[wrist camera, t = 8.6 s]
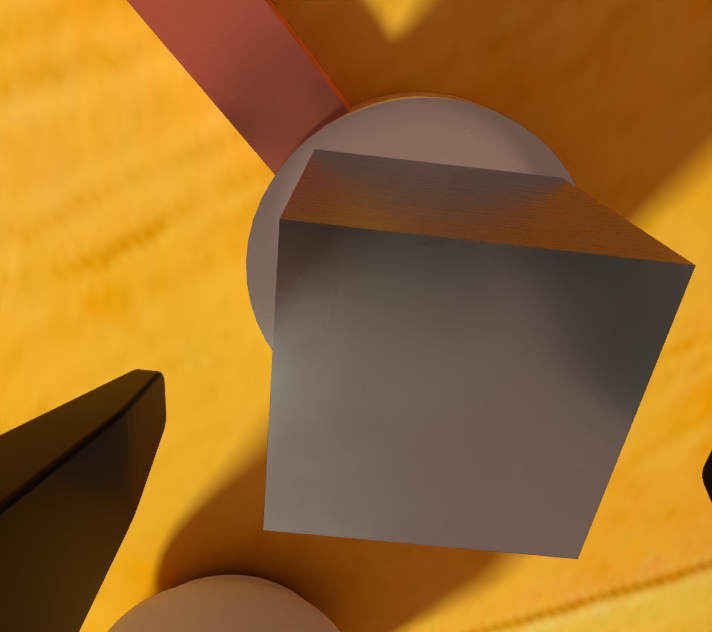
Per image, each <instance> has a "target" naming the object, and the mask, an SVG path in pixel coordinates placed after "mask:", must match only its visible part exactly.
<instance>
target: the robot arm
mask: <svg viewBox="0 0 712 632" xmlns="http://www.w3.org/2000/svg"><path fill="white" fill-rule="evenodd" d="M165 423H166V401H165V381H164V377H163V374H162V373H161V372H159V371H150V370H141V369H136V370H133V371H131V372H129V373H127V374H125V375H123V376H120V377H118V378H116V379H114V380H112V381H110V382H108V383H106V384H104V385H102V386H100V387H98V388H96V389H94V390H92V391H90V392H88V393H86V394H84V395H82V396H80V397H77V398H75V399H73V400H71V401H69V402H67V403H65V404H63V405H61V406H59V407H57V408H55V409H53V410H51V411H49V412H47V413H45V414H43V415H41V416H39V417H36V418H34V419H32V420H30V421H28V422H26V423H24V424H22V425H20V426H18V427H16V428H14V429H12V430H10V431H8V432H6V433H4V434H2V435H0V632H79V631H80V628H81V626H82V624H83V622H84V620H85V618H86V616H87V614H88V612H89V610H90V608H91V606H92V604H93V601H94V599H95V597H96V595H97V593H98V591H99V589H100V587H101V585H102V583H103V581H104V579H105V576H106V574H107V572H108V570H109V568H110V566H111V564H112V562H113V560H114V558H115V556H116V554H117V552H118V549H119V547H120V545H121V543H122V541H123V539H124V537H125V535H126V533H127V531H128V529H129V526H130V524H131V522H132V520H133V517H134V515H135V513H136V510H137V507H138V504H139V502H140V499H141V496H142V493H143V490H144V487H145V484H146V481H147V478H148V475H149V473H150V470H151V467H152V464H153V461H154V458H155V455H156V452H157V449H158V446H159V443H160V440H161V437H162V435H163V432H164V428H165ZM702 478H703V483H704V485H705V488H706V490H707V493H708V495H709V497H710V500H711V502H712V451H711V453H710V455H709V457H708V459H707V461H706V463H705V465H704V467H703V472H702Z"/></svg>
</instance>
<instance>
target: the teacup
mask: <svg viewBox="0 0 712 632" xmlns="http://www.w3.org/2000/svg"><path fill="white" fill-rule="evenodd" d="M108 632H340V631H339V630H338V628H337V627H336V626H335V625H334V623H333V622H332V621H331V620H330V619H329V618H328V617H327V616H326V615H325V614H324V613H322V612H321V611H320V610H318V609H317V608H316V607H314V606H313V605H312V604H310V603H308V602H307V601H305V600H304V599H303V598H302V597H300V596H299V595H298V594H296V593H295V592H293V591H291V590H289V589H288V588H286V587H284V586H282V585H279V584H277V583H275V582H272V581H269V580H266V579H262V578H258V577H253V576H246V575H217V576H208V577H203V578H199V579H195V580H192V581H189V582H186V583H184V584H182V585H180V586H177V587H175V588H172V589H168V590H165V591H162V592H160V593H158V594H156V595H154V596H152V597H150V598H148V599H146V600H144V601H142V602H141V603H139V604H138V605H136V606H135V607H133V608H132V609H130V610H129V611H128V612H127V613H125V614H124V615H123V616H122V617H121V618H120V619H119V620H118V621H117V622H116V623H115V624H114V625H113V626H112V627H111V628H110V629H109V631H108Z"/></svg>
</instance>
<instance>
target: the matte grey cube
mask: <svg viewBox="0 0 712 632" xmlns="http://www.w3.org/2000/svg"><path fill="white" fill-rule="evenodd" d="M694 268H695V265H694V264H693V263H691V262H690V261H688V260H687V259H685V258H684V257H682V256H681V255H679V254H678V253H676V252H674V251H673V250H671V249H670V248H668V247H667V246H665V245H664V244H662V243H661V242H659V241H658V240H656V239H655V238H653V237H652V236H650V235H649V234H647V233H646V232H644V231H643V230H641V229H639V228H638V227H636V226H635V225H633V224H632V223H630V222H629V221H627V220H626V219H624V218H623V217H621V216H620V215H618V214H617V213H615V212H614V211H612V210H611V209H609V208H607V207H606V206H604V205H603V204H601V203H600V202H598V201H597V200H595V199H594V198H592V197H591V196H589V195H588V194H586V193H585V192H583V191H582V190H580V189H579V188H577V187H576V186H574V185H572V184H571V183H569V182H568V181H566V180H565V179H563V178H560V177H551V176H542V175H534V174H525V173H517V172H508V171H499V170H491V169H482V168H474V167H465V166H456V165H448V164H439V163H431V162H422V161H413V160H405V159H396V158H388V157H379V156H370V155H362V154H353V153H345V152H336V151H327V150H319V149H314V151H313V153H312V155H311V157H310V159H309V161H308V163H307V165H306V167H305V169H304V171H303V173H302V175H301V177H300V179H299V181H298V183H297V185H296V187H295V189H294V191H293V193H292V195H291V197H290V199H289V201H288V203H287V205H286V207H285V209H284V211H283V213H282V215H281V217H280V219H279V237H278V256H277V276H276V295H275V314H274V333H273V353H272V372H271V391H270V411H269V430H268V449H267V468H266V488H265V507H264V526H263V530H267V531H278V532H289V533H300V534H311V535H322V536H332V537H343V538H354V539H365V540H376V541H387V542H398V543H408V544H419V545H430V546H441V547H452V548H463V549H473V550H484V551H495V552H506V553H517V554H528V555H538V556H549V557H560V558H571V559H578V557H579V555H580V552H581V550H582V547H583V545H584V542H585V540H586V537H587V535H588V532H589V530H590V527H591V525H592V522H593V520H594V517H595V515H596V512H597V510H598V507H599V505H600V502H601V500H602V497H603V495H604V492H605V490H606V487H607V485H608V482H609V480H610V477H611V475H612V472H613V470H614V467H615V465H616V462H617V460H618V457H619V455H620V452H621V450H622V447H623V445H624V442H625V440H626V437H627V435H628V432H629V430H630V427H631V425H632V422H633V420H634V417H635V415H636V412H637V410H638V407H639V405H640V402H641V400H642V397H643V395H644V392H645V390H646V387H647V385H648V383H649V380H650V378H651V375H652V373H653V370H654V368H655V365H656V363H657V360H658V358H659V355H660V353H661V350H662V348H663V345H664V343H665V340H666V338H667V335H668V333H669V330H670V328H671V325H672V323H673V320H674V318H675V315H676V313H677V310H678V308H679V305H680V303H681V300H682V298H683V295H684V293H685V290H686V288H687V285H688V283H689V280H690V278H691V275H692V273H693V270H694Z"/></svg>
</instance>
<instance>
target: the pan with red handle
mask: <svg viewBox="0 0 712 632" xmlns="http://www.w3.org/2000/svg"><path fill="white" fill-rule="evenodd" d="M127 1H128V2H129V4H130V5H131V6H132V7H133V8H134V9H135V11H136V12H137V13H138V14H139V15H140V17H141V18H142V19H143V20H144V21H145V22H146V24H147V25H148V26H149V27H150V28H151V29H152V31H153V32H154V33H155V34H156V35H157V37H158V38H159V39H160V40H161V41H162V42H163V44H164V45H165V46H166V47H167V48H168V49H169V51H170V52H171V53H172V54H173V55H174V57H175V58H176V59H177V60H178V61H179V62H180V64H181V65H182V66H183V67H184V68H185V69H186V71H187V72H188V73H189V74H190V75H191V77H192V78H193V79H194V80H195V81H196V82H197V84H198V85H199V86H200V87H201V88H202V89H203V91H204V92H205V93H206V94H207V95H208V97H209V98H210V99H211V100H212V101H213V102H214V104H215V105H216V106H217V107H218V108H219V109H220V111H221V112H222V113H223V114H224V115H225V117H226V118H227V119H228V120H229V121H230V122H231V124H232V125H233V126H234V127H235V128H236V129H237V131H238V132H239V133H240V134H241V135H242V137H243V138H244V139H245V140H246V141H247V142H248V144H249V145H250V146H251V147H252V148H253V149H254V151H255V152H256V153H257V154H258V155H259V157H260V158H261V159H262V160H263V161H264V162H265V164H266V165H267V166H268V167H269V168H270V169H271V171H272V172H273V173H274V174H275V177H274V178H273V180H272V181H271V183H270V185H269V187H268V189H267V190H266V192H265V194H264V196H263V197H262V199H261V202H260V204H259V207H258V209H257V212H256V214H255V217H254V219H253V224H252V228H251V232H250V236H249V240H248V249H247V259H246V269H247V285H248V291H249V296H250V302H251V305H252V308H253V311H254V314H255V317H256V321H257V323H258V325H259V327H260V329H261V331H262V333H263V335H264V338H265V340H266V341H267V343H268V344H269V346H270V347H271V349H272V350H273V333H274V314H275V295H276V276H277V256H278V237H279V219H280V217H281V215H282V213H283V211H284V209H285V207H286V205H287V203H288V201H289V199H290V197H291V195H292V193H293V191H294V189H295V187H296V185H297V183H298V181H299V179H300V177H301V175H302V173H303V171H304V169H305V167H306V165H307V163H308V161H309V159H310V157H311V155H312V153H313V151H314V149H319V150H327V151H336V152H345V153H353V154H362V155H370V156H379V157H388V158H396V159H405V160H413V161H422V162H431V163H439V164H448V165H456V166H465V167H474V168H482V169H491V170H499V171H508V172H517V173H525V174H534V175H542V176H551V177H560V178H563V179H565V180H566V181H568V182H569V183H571V184H572V185H574V186H576V185H575V183H574V181H573V179H572V177H571V175H570V174H569V172H568V171H567V169H566V168H565V167H564V165H563V164H562V163H561V161H560V160H559V159H558V157H557V156H556V154H555V153H553V152H552V151H551V150H550V149H549V148H548V147H547V146H546V145H545V144H544V143H543V142H542V141H541V140H540V139H539V138H538V137H537V136H536V135H534V134H533V133H531V132H530V131H529V130H527V129H526V128H525V127H523V126H522V125H520V124H519V123H517V122H515V121H513V120H511V119H510V118H508V117H506V116H504V115H502V114H500V113H498V112H496V111H494V110H492V109H490V108H488V107H486V106H483V105H481V104H479V103H476V102H473V101H470V100H467V99H464V98H462V97H458V96H452V95H447V94H442V93H434V92H406V93H395V94H389V95H385V96H381V97H377V98H372V99H369V100H367V101H364V102H361V103H359V104H356V105H354V106H350V104H349V103H348V102H347V100H346V99H345V98H344V96H343V95H342V94H341V92H340V91H339V90H338V88H337V87H336V86H335V84H334V83H333V82H332V80H331V79H330V78H329V76H328V75H327V74H326V72H325V71H324V70H323V68H322V67H321V66H320V65H319V63H318V62H317V61H316V59H315V58H314V57H313V55H312V54H311V53H310V51H309V50H308V49H307V47H306V46H305V45H304V43H303V42H302V41H301V39H300V38H299V37H298V35H297V34H296V33H295V31H294V30H293V29H292V27H291V26H290V25H289V23H288V22H287V21H286V19H285V18H284V17H283V15H282V14H281V13H280V11H279V10H278V9H277V8H276V6H275V5H274V4H273V2H272V1H271V0H127Z"/></svg>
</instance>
